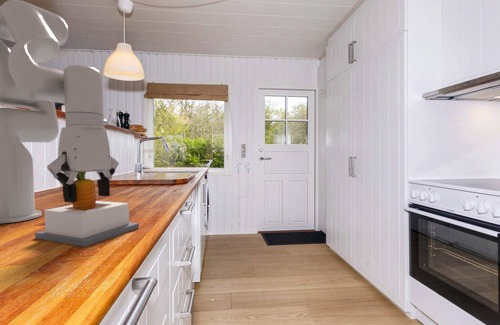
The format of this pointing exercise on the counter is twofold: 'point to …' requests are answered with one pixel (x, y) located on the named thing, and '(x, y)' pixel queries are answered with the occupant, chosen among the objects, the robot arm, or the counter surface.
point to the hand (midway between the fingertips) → (88, 198)
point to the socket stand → (86, 223)
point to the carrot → (84, 193)
